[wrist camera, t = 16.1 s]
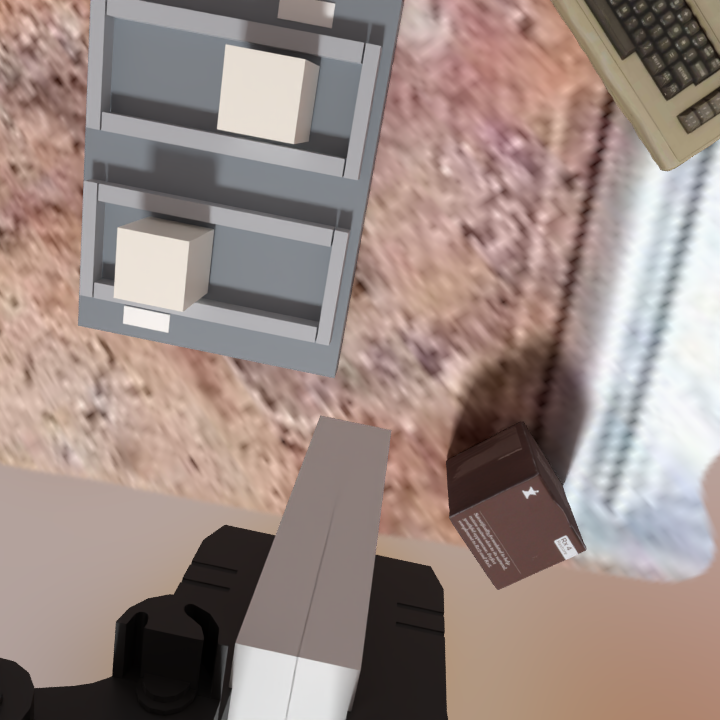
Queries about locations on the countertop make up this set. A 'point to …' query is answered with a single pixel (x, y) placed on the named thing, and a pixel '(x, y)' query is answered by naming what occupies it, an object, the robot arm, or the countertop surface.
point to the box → (511, 507)
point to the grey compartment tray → (234, 169)
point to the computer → (656, 67)
